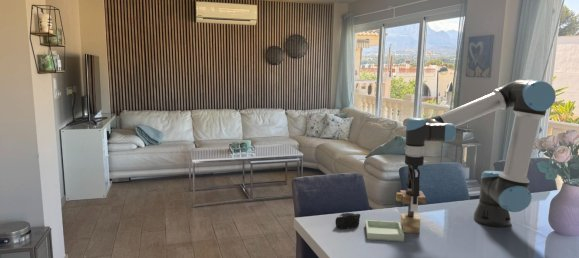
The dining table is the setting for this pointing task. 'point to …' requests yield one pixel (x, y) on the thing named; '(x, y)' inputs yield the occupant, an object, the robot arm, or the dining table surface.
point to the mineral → (347, 220)
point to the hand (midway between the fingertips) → (412, 207)
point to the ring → (409, 197)
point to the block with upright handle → (410, 221)
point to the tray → (384, 231)
